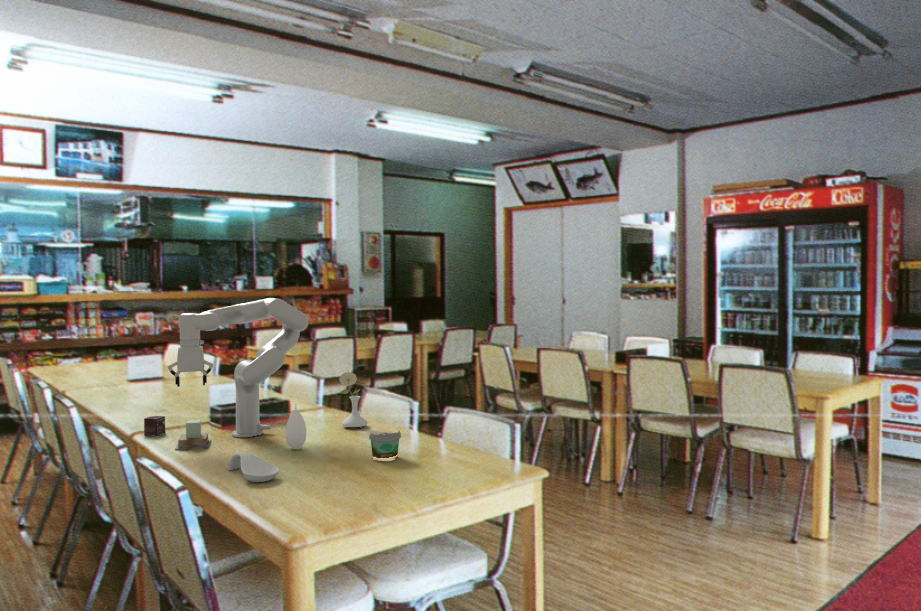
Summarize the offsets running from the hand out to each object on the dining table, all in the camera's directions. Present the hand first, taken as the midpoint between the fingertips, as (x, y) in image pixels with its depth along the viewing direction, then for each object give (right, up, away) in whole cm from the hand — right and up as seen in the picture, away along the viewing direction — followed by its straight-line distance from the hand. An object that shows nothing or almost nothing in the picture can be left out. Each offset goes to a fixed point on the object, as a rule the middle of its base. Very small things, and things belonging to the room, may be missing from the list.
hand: (191, 385), depth 265 cm
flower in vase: (+61, -22, +28) cm, 71 cm away
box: (-21, -23, +12) cm, 33 cm away
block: (+3, -20, -6) cm, 21 cm away
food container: (+83, -25, -25) cm, 90 cm away
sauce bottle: (+45, -24, -10) cm, 52 cm away
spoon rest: (+39, -26, -45) cm, 65 cm away
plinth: (+3, -23, -6) cm, 24 cm away
